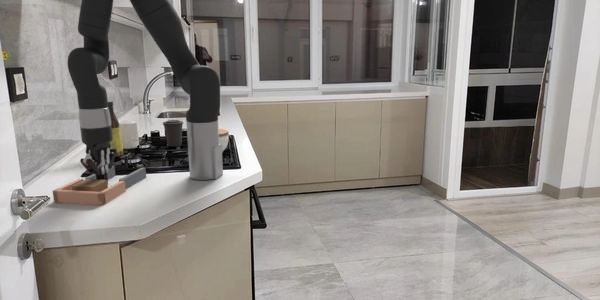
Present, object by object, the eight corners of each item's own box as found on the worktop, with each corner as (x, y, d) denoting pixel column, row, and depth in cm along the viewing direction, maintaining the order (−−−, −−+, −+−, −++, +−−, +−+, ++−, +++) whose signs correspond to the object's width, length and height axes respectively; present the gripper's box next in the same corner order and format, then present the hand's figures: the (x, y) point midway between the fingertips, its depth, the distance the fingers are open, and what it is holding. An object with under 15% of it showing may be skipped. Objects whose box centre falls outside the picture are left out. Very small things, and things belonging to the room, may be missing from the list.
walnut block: (108, 194, 113) (106, 180, 112) (94, 201, 107) (92, 187, 106) (88, 192, 114) (86, 178, 113) (73, 200, 108) (71, 185, 107)
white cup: (133, 149, 161) (130, 124, 158) (114, 148, 162) (112, 123, 160) (144, 145, 168) (142, 120, 166) (126, 144, 170) (124, 119, 168)
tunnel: (146, 177, 127) (145, 167, 126) (124, 190, 115) (122, 179, 115) (111, 175, 129) (110, 166, 128) (86, 188, 117) (85, 177, 116)
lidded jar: (226, 155, 153) (225, 130, 150) (197, 155, 153) (195, 129, 151) (231, 148, 163) (230, 124, 161) (204, 148, 163) (202, 124, 161)
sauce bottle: (127, 154, 154) (121, 100, 149) (114, 158, 148) (108, 102, 143) (113, 153, 156) (107, 99, 151) (100, 157, 150) (93, 102, 145)
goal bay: (125, 191, 114) (124, 181, 113) (102, 205, 104) (101, 193, 104) (80, 188, 116) (79, 178, 116) (54, 202, 106) (52, 190, 106)
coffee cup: (186, 146, 166) (184, 121, 164) (164, 147, 164) (162, 122, 161) (184, 142, 174) (182, 118, 171) (163, 143, 171) (161, 119, 169)
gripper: (92, 129, 104) (100, 195, 108) (122, 120, 117) (128, 179, 121) (65, 128, 105) (74, 193, 110) (98, 120, 118) (105, 178, 122)
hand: (103, 186), depth 115 cm, fingers closed
